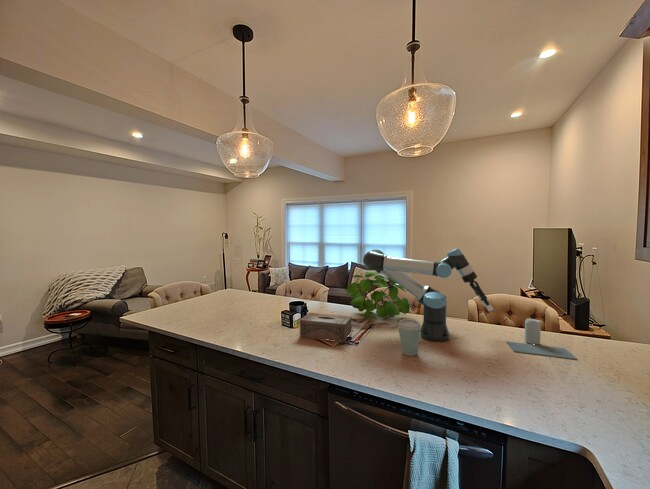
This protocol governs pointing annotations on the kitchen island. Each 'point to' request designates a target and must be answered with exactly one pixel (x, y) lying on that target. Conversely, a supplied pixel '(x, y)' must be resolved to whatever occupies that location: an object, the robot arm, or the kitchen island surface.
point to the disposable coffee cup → (409, 335)
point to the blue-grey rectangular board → (541, 350)
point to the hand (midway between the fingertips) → (488, 307)
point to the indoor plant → (377, 297)
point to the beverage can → (532, 331)
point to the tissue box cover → (325, 326)
